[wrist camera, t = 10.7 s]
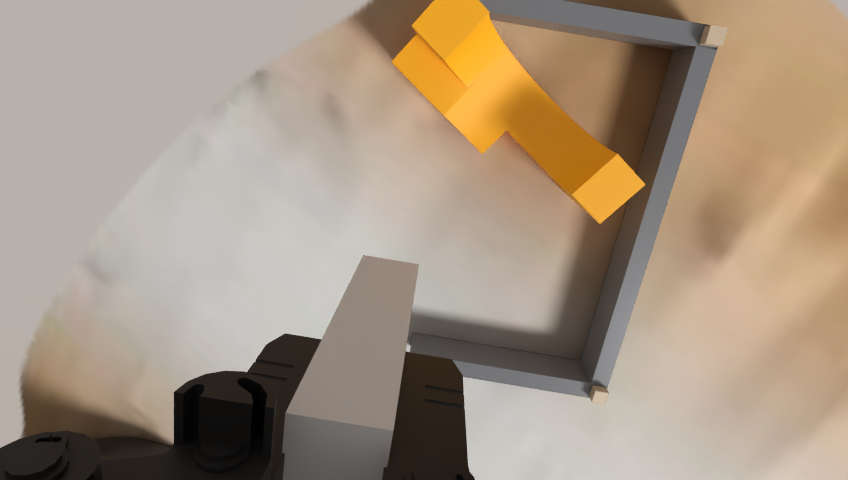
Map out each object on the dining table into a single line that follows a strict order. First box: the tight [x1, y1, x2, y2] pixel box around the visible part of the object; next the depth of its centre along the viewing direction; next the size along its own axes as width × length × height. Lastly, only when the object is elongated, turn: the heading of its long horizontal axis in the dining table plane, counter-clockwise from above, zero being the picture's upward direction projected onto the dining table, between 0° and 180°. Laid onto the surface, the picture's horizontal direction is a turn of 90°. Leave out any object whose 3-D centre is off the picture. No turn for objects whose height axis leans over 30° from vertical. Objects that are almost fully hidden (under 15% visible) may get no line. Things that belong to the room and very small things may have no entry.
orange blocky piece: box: [392, 0, 646, 224], centre depth 24 cm, size 12×4×6 cm, turn 46°
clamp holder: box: [410, 0, 728, 405], centre depth 27 cm, size 12×21×3 cm, turn 171°
